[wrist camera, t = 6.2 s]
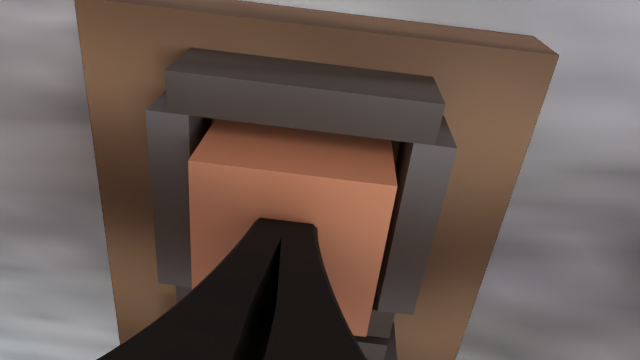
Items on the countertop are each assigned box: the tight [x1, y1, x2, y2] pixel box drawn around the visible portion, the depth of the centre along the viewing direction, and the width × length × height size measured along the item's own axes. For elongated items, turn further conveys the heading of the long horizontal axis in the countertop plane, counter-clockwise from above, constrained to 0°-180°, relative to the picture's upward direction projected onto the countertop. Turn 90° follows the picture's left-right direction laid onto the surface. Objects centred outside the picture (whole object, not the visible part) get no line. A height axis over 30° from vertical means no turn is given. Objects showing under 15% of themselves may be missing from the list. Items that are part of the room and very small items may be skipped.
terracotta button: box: [188, 119, 398, 337], centre depth 12 cm, size 4×4×2 cm
